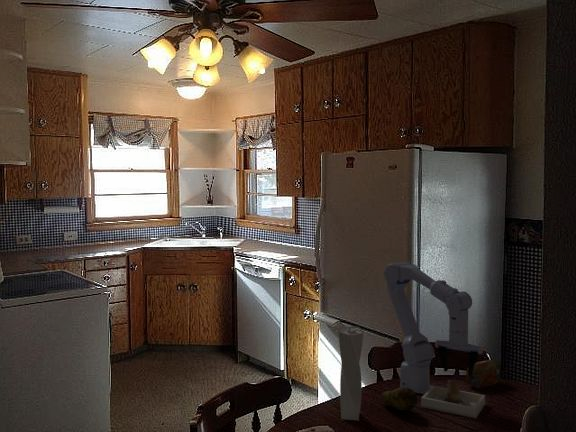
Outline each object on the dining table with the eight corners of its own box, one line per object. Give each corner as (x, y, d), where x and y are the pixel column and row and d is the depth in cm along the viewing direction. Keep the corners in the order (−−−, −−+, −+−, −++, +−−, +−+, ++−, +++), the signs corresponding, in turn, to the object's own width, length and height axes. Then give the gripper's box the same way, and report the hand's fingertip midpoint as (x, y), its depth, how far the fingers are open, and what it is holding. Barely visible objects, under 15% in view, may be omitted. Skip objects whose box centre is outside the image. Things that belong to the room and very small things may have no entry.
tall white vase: (362, 423, 156) (363, 327, 155) (337, 421, 157) (337, 326, 156) (363, 412, 163) (363, 321, 162) (339, 410, 165) (339, 320, 164)
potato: (402, 401, 172) (403, 377, 171) (421, 417, 159) (421, 391, 159) (378, 404, 170) (378, 379, 170) (395, 420, 157) (395, 393, 157)
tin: (471, 390, 182) (471, 365, 182) (464, 387, 185) (464, 363, 184) (502, 383, 189) (502, 359, 189) (494, 380, 192) (495, 357, 191)
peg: (445, 404, 168) (445, 382, 168) (449, 400, 171) (449, 379, 171) (457, 406, 166) (457, 384, 166) (460, 403, 169) (460, 381, 169)
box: (421, 407, 167) (421, 397, 167) (433, 394, 178) (433, 385, 178) (475, 418, 158) (476, 408, 158) (484, 404, 169) (485, 395, 169)
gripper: (432, 329, 170) (431, 372, 171) (479, 336, 162) (478, 380, 163) (438, 325, 176) (438, 366, 176) (484, 331, 168) (484, 374, 169)
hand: (458, 372), depth 170 cm, fingers open, 7 cm apart
